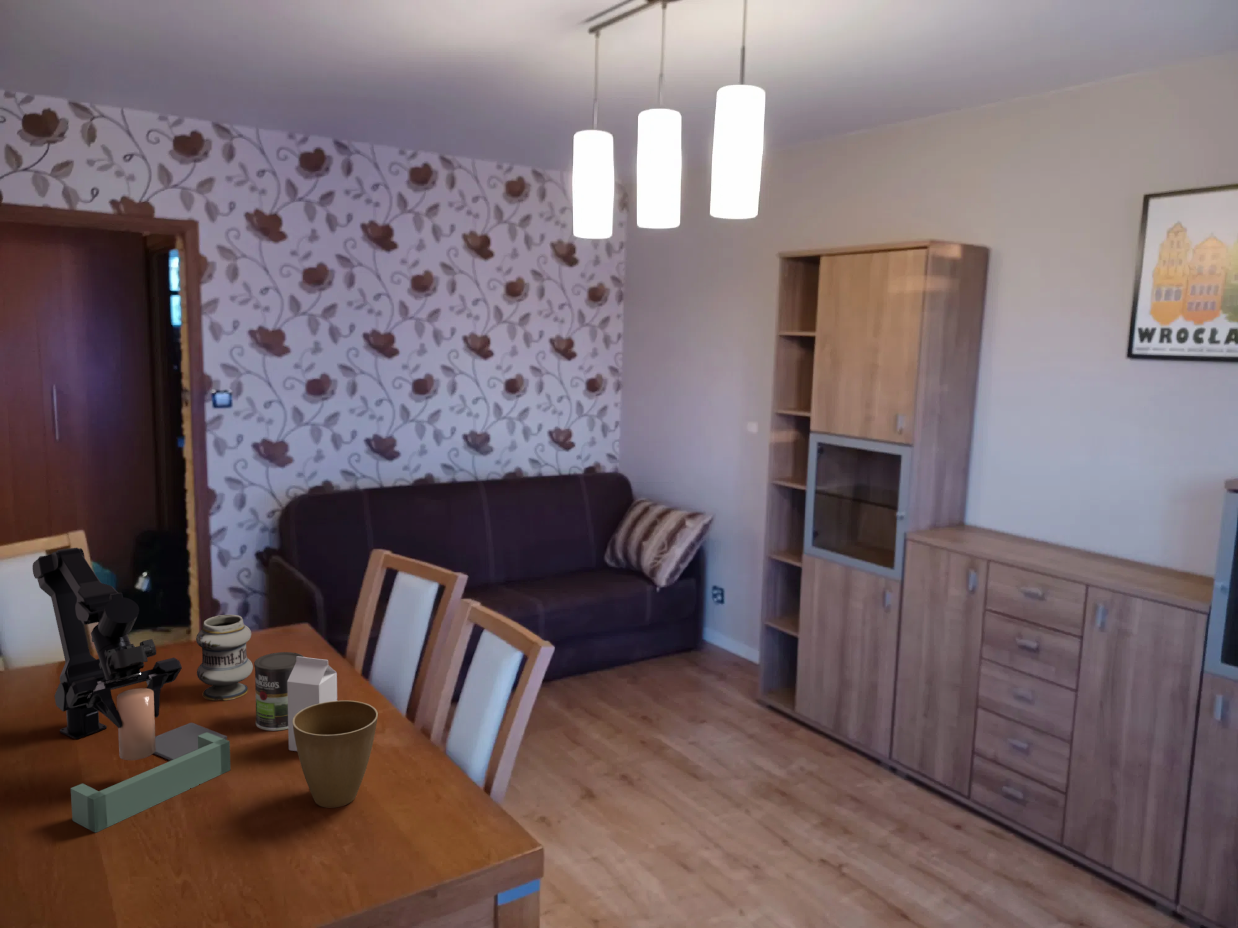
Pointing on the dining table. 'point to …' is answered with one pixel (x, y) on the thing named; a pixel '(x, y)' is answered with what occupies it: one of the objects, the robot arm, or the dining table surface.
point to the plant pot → (334, 748)
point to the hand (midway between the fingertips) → (139, 721)
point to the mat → (181, 741)
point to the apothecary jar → (224, 657)
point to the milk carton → (309, 688)
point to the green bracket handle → (150, 785)
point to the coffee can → (273, 689)
